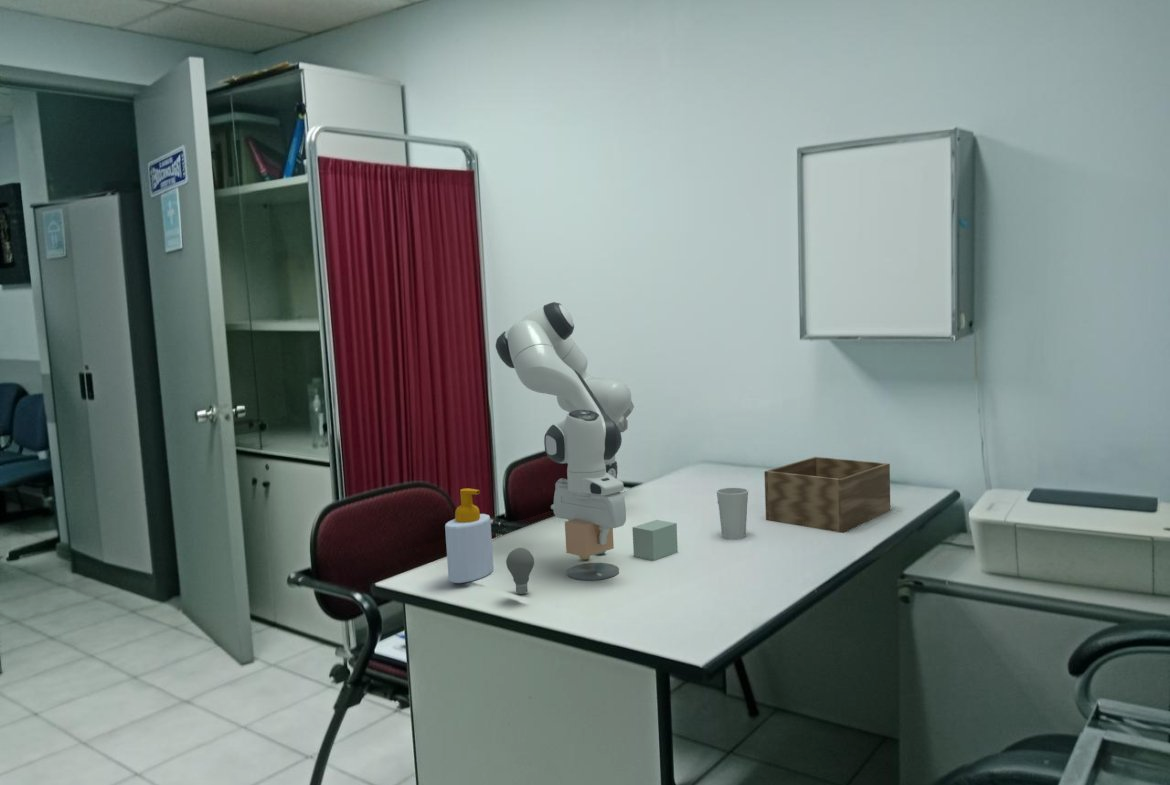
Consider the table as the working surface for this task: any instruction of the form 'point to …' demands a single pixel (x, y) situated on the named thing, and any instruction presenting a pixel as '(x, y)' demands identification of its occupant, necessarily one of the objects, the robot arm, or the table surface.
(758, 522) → the table surface
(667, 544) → the pale green upright block
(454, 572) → the soap bottle
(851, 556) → the table surface
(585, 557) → the marble
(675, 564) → the table surface
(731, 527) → the cup
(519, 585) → the light bulb
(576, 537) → the peach smooth rectangular block
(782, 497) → the walnut planter box
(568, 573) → the slate coaster
